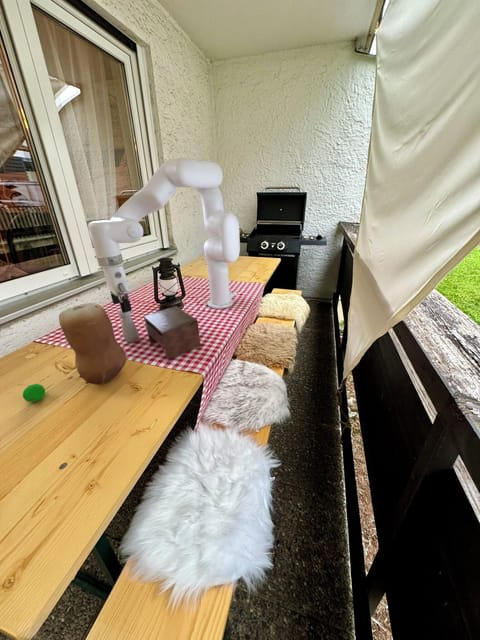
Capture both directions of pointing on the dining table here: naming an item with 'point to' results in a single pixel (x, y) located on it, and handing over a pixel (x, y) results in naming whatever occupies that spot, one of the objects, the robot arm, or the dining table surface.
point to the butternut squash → (92, 342)
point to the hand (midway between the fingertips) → (122, 307)
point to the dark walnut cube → (173, 331)
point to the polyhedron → (33, 392)
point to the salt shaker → (128, 327)
